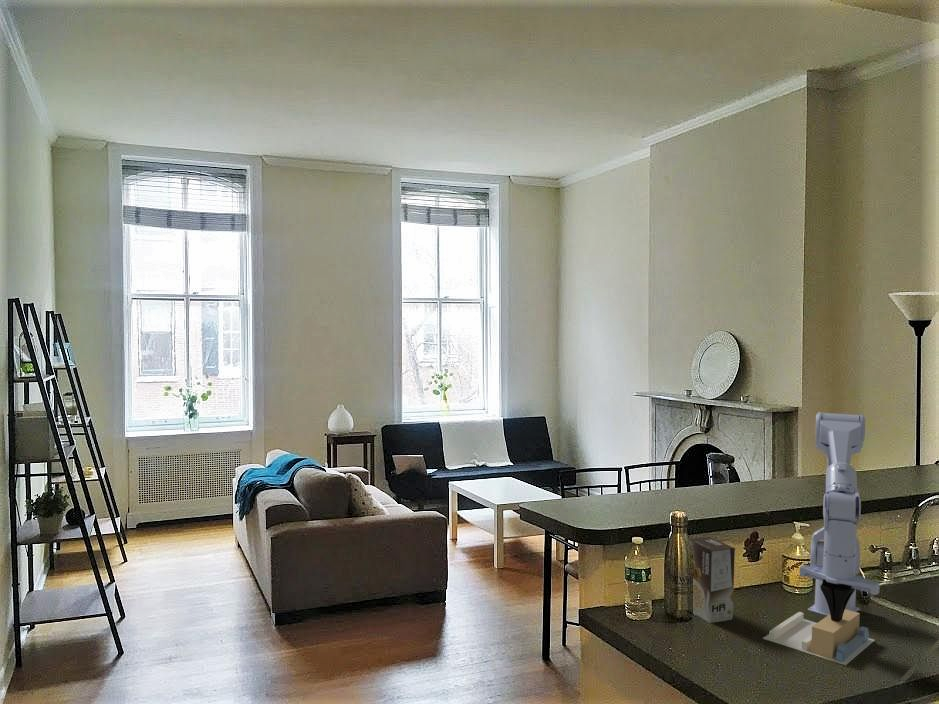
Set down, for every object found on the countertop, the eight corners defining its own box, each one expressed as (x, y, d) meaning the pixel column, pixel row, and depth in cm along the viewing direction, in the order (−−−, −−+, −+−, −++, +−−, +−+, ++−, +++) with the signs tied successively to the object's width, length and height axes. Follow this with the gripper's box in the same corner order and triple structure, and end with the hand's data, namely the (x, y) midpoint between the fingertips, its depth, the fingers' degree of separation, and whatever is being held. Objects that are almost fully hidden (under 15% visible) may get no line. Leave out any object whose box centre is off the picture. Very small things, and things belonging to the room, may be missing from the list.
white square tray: (795, 619, 168) (796, 604, 168) (874, 642, 157) (875, 627, 157) (762, 641, 157) (763, 625, 157) (845, 668, 146) (846, 651, 146)
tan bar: (838, 631, 161) (839, 607, 161) (858, 637, 158) (859, 613, 158) (811, 651, 151) (812, 626, 151) (832, 658, 148) (833, 633, 148)
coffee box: (734, 621, 167) (737, 548, 166) (709, 625, 164) (712, 551, 164) (707, 606, 175) (709, 535, 174) (683, 609, 173) (685, 538, 172)
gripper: (794, 548, 156) (791, 614, 157) (871, 566, 146) (868, 637, 147) (808, 541, 161) (805, 605, 162) (884, 558, 151) (881, 626, 152)
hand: (836, 620), depth 155 cm, fingers closed, pressing on tan bar
